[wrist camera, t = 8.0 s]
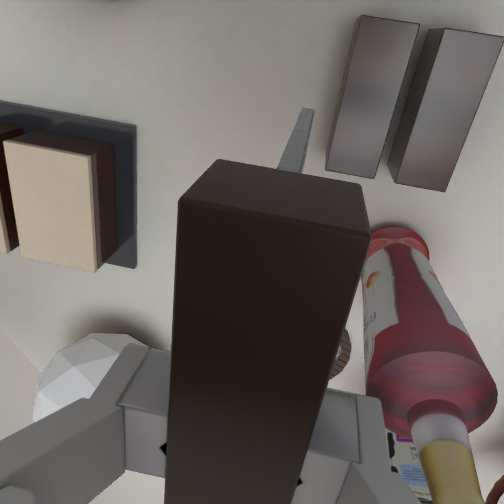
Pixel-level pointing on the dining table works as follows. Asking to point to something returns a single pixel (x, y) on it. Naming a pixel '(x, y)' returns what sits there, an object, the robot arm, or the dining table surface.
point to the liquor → (423, 364)
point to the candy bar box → (407, 465)
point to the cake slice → (7, 194)
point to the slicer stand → (409, 100)
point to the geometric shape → (77, 371)
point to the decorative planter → (496, 492)
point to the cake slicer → (257, 322)
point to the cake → (72, 187)
